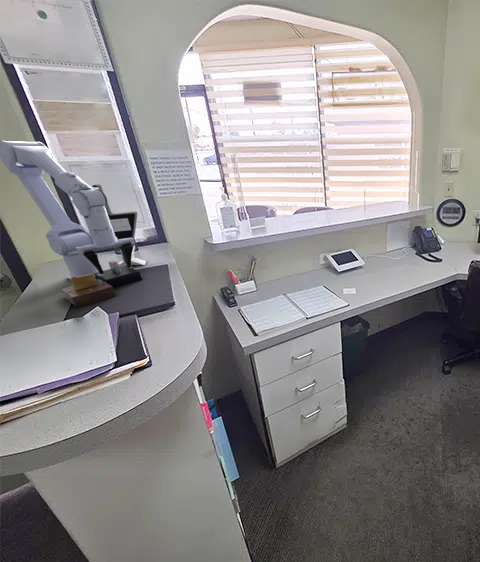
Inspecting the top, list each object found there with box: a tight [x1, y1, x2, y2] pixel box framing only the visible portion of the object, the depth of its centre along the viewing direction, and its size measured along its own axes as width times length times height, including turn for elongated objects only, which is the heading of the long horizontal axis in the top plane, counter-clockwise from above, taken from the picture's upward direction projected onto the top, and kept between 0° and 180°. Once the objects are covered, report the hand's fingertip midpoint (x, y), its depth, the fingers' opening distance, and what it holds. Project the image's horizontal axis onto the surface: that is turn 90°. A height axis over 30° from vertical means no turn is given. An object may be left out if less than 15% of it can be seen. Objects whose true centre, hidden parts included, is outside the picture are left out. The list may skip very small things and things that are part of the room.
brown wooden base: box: [60, 279, 117, 308], centre depth 91 cm, size 12×9×3 cm
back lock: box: [108, 260, 121, 274], centre depth 102 cm, size 5×1×4 cm, turn 55°
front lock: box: [69, 273, 98, 291], centre depth 89 cm, size 5×1×4 cm, turn 146°
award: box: [88, 183, 147, 267], centre depth 113 cm, size 15×5×30 cm, turn 117°
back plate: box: [94, 265, 143, 288], centre depth 103 cm, size 12×9×3 cm
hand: (115, 269), depth 102 cm, fingers open, 7 cm apart
